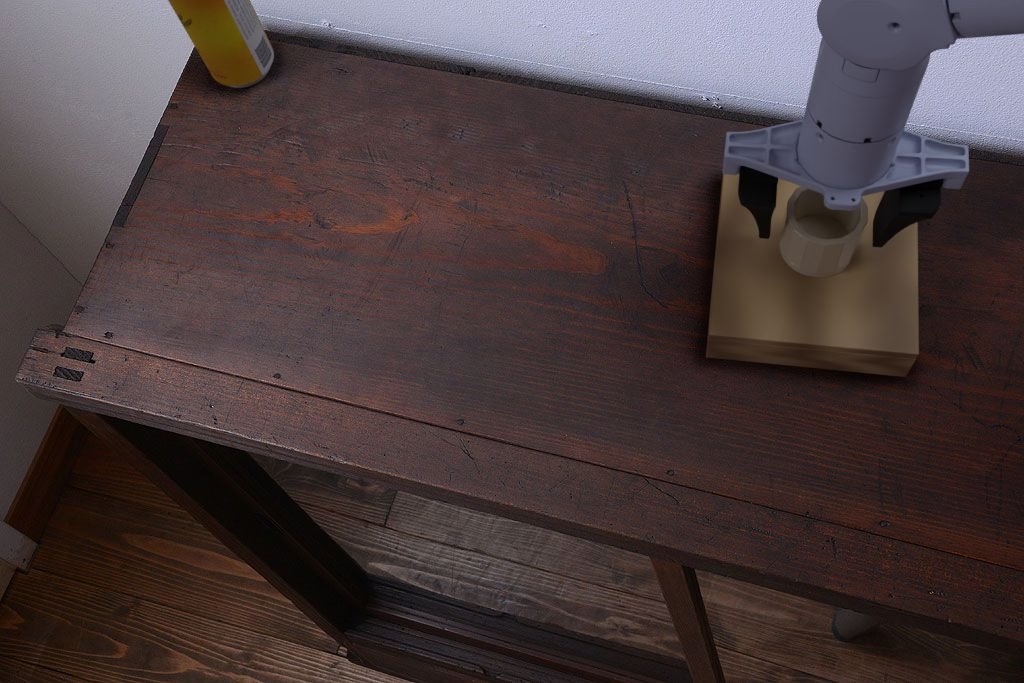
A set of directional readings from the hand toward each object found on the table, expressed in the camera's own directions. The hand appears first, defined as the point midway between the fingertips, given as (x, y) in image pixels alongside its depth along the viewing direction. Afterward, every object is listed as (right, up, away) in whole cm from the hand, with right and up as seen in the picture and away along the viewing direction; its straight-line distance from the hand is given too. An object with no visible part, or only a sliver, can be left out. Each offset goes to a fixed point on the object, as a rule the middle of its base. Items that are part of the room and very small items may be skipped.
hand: (820, 230), depth 68 cm
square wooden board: (+1, -2, +5) cm, 6 cm away
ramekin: (0, -1, +2) cm, 2 cm away
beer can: (-46, +18, +22) cm, 54 cm away
